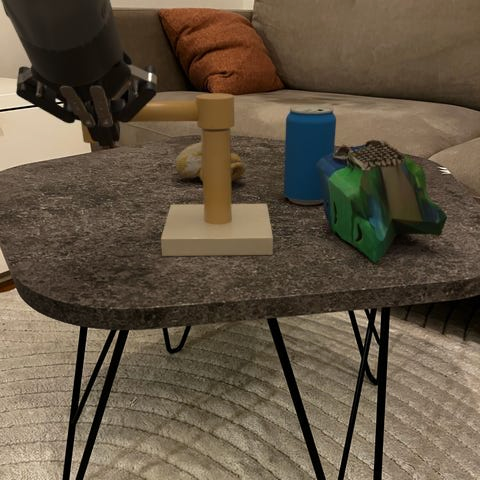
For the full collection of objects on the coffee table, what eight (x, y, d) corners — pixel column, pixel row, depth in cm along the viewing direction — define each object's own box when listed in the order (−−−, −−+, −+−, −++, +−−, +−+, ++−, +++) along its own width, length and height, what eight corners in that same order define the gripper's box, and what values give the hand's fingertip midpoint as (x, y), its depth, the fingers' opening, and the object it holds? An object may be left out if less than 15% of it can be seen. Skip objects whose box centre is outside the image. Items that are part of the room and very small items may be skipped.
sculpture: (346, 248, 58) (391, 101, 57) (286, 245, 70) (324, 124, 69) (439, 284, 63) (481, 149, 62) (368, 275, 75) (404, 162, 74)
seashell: (219, 128, 96) (251, 141, 83) (226, 165, 99) (258, 183, 86) (161, 142, 94) (185, 157, 81) (169, 179, 97) (194, 200, 84)
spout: (234, 136, 66) (233, 93, 64) (234, 143, 62) (234, 98, 60) (87, 137, 66) (82, 94, 63) (79, 145, 62) (73, 100, 60)
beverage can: (338, 197, 82) (345, 107, 77) (316, 209, 78) (322, 114, 72) (298, 190, 86) (301, 103, 80) (274, 201, 81) (276, 109, 75)
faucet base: (162, 256, 64) (153, 140, 58) (171, 219, 74) (165, 119, 69) (272, 255, 64) (275, 139, 58) (266, 218, 74) (268, 118, 69)
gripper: (149, -35, 45) (173, 107, 62) (-24, -34, 45) (46, 108, 62) (146, 46, 43) (171, 170, 60) (-36, 47, 43) (40, 171, 60)
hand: (107, 138), depth 61 cm, fingers closed
